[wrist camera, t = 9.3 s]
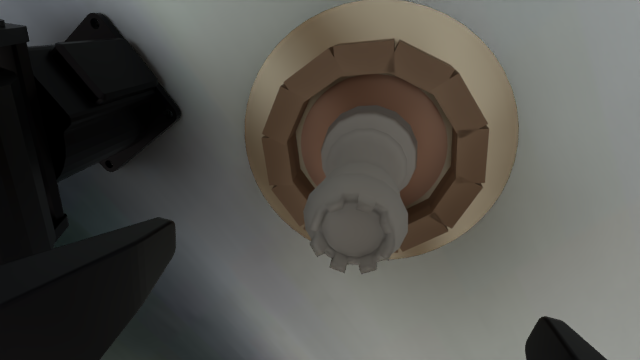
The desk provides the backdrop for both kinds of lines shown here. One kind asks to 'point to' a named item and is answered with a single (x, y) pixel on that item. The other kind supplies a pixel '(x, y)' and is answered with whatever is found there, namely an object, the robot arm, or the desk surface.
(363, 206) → the rook chess piece
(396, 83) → the well tray
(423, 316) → the desk surface
